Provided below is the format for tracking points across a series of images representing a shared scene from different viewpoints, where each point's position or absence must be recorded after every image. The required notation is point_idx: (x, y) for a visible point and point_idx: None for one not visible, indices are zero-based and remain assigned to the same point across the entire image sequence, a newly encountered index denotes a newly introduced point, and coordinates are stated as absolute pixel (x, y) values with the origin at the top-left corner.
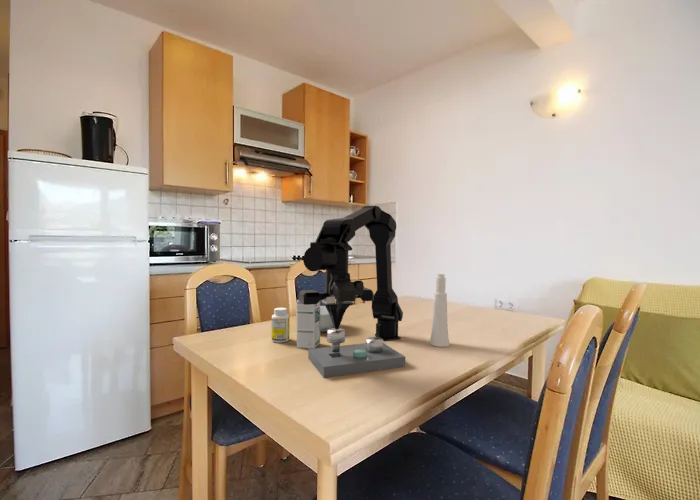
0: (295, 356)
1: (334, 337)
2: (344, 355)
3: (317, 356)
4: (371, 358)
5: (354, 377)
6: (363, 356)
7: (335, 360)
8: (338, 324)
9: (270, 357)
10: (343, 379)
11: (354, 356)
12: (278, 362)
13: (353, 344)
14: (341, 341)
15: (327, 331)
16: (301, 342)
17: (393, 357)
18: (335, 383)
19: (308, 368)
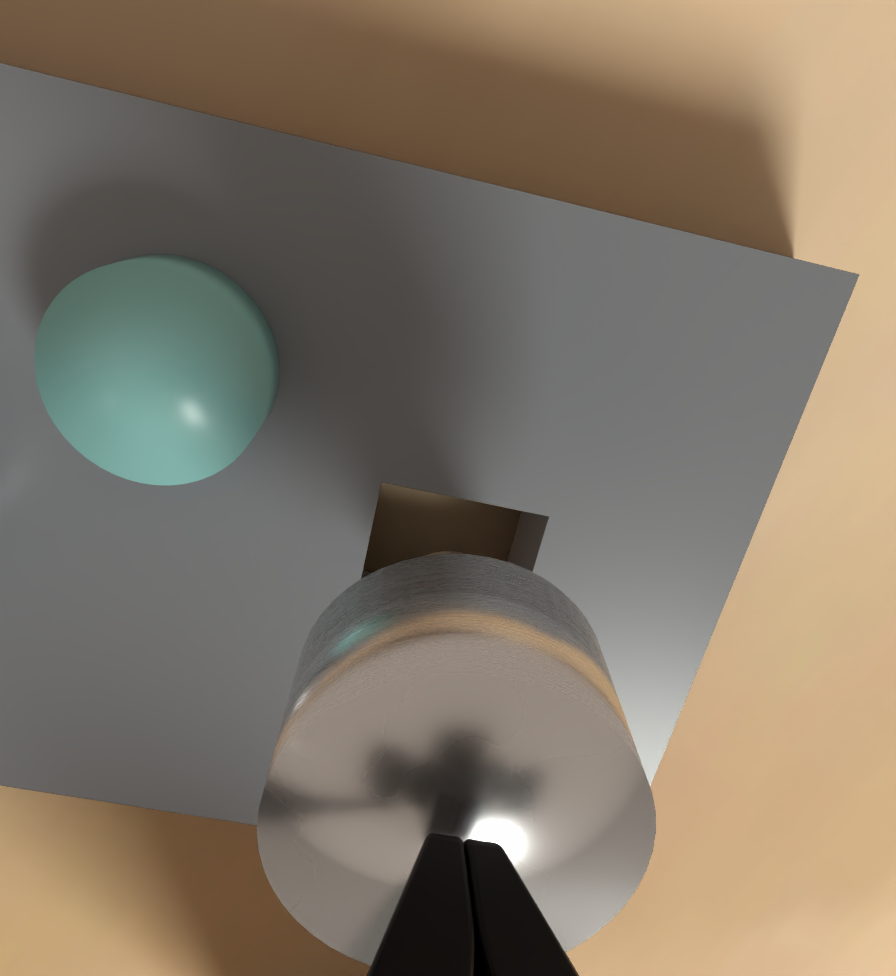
0: (659, 893)
1: (582, 654)
2: (353, 509)
3: (672, 643)
4: (53, 191)
5: (482, 42)
6: (163, 260)
7: (570, 409)
8: (446, 915)
9: (856, 962)
10: (638, 69)
11: (275, 363)
12: (879, 838)
13: (22, 788)
14: (441, 567)
15: (635, 871)
16: None
17: None
18: (797, 12)
19: (752, 579)
